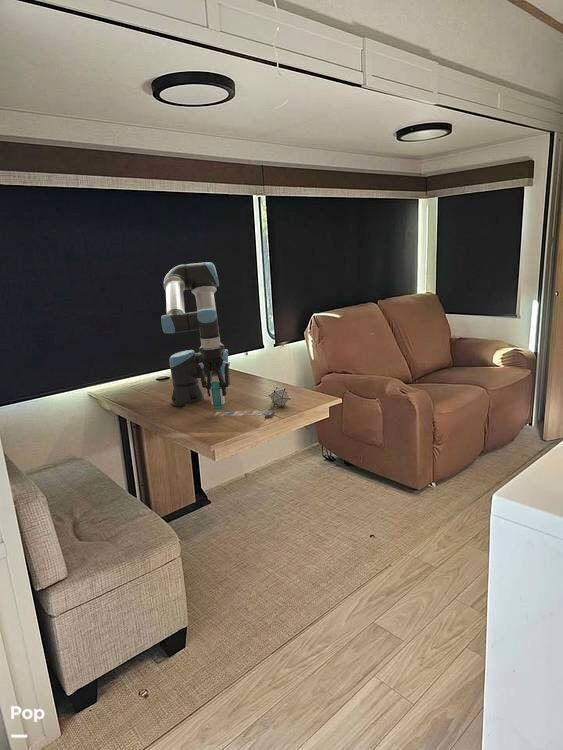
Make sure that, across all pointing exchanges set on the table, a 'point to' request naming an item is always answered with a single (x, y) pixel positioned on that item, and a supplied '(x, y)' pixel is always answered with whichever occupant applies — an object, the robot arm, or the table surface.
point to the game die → (279, 397)
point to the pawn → (216, 395)
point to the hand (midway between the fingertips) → (218, 403)
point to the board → (246, 413)
